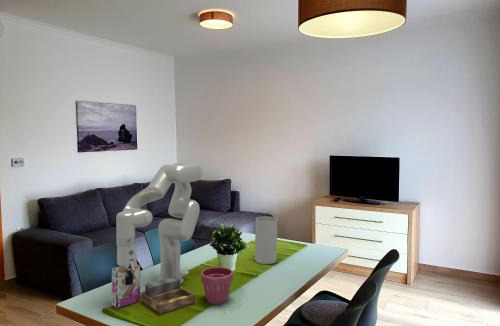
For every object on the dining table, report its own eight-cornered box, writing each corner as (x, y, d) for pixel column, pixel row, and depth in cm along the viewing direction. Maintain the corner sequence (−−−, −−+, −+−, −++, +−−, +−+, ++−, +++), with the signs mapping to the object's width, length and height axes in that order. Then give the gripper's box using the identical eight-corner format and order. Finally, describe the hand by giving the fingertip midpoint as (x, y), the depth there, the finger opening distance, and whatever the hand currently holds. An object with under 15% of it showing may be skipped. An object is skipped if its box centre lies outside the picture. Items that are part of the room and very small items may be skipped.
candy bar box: (116, 309, 163) (116, 270, 162) (111, 305, 167) (110, 267, 166) (141, 301, 171) (140, 264, 170) (135, 298, 175) (135, 262, 173)
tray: (175, 292, 182) (175, 275, 181) (195, 303, 170) (195, 285, 169) (141, 302, 170) (141, 284, 170) (159, 315, 158) (159, 296, 158)
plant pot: (203, 292, 181) (203, 265, 181) (233, 293, 181) (234, 266, 180) (198, 306, 167) (198, 277, 166) (231, 307, 167) (231, 278, 166)
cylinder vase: (262, 256, 237) (263, 215, 235) (280, 260, 229) (281, 218, 228) (250, 261, 227) (251, 219, 225) (268, 266, 219) (269, 222, 217)
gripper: (143, 243, 163) (143, 286, 164) (125, 235, 176) (125, 275, 177) (126, 247, 158) (126, 291, 159) (109, 238, 171) (109, 279, 172)
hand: (126, 282), depth 168 cm, fingers closed on candy bar box, 5 cm apart
